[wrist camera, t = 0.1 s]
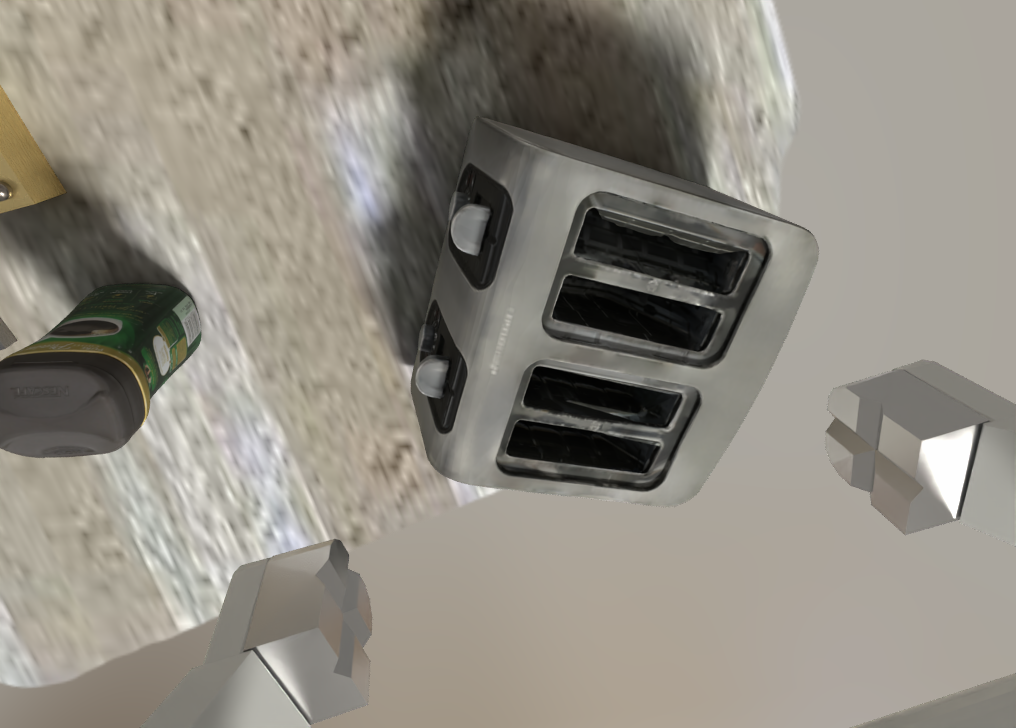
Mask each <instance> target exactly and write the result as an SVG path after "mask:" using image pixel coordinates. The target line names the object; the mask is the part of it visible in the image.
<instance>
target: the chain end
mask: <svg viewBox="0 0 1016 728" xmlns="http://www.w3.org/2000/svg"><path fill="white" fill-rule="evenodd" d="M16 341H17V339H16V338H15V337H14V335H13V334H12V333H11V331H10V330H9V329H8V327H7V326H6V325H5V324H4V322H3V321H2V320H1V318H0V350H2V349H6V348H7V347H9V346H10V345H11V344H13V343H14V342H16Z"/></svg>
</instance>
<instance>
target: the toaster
mask: <svg viewBox="0 0 1016 728" xmlns="http://www.w3.org/2000/svg"><path fill="white" fill-rule="evenodd" d="M448 218H449V220H448V224H447V229H446V233H445V237H444V241H443V245H442V250H441V254H440V258H439V263H438V267H437V271H436V275H435V279H434V284H433V287H432V294H431V298H430V302H429V306H428V310H427V314H426V319H425V323H424V324H423V325H422V327H421V330H420V334H419V340H418V341H419V342H418V352H417V356H416V360H415V364H414V368H413V373H412V379H411V394H412V398H413V402H414V406H415V410H416V414H417V417H418V421H419V425H420V429H421V433H422V437H423V442H424V446H425V450H426V454H427V457H428V460H429V462H430V463H431V465H432V466H433V467H434V468H435V469H436V470H437V471H438V472H439V473H440V474H442V475H443V476H445V477H448V478H450V479H452V480H455V481H457V482H461V483H464V484H469V485H475V486H482V487H489V488H496V489H506V490H515V491H524V492H534V493H543V494H552V495H561V496H571V497H580V498H589V499H598V500H606V501H616V502H625V503H632V504H640V505H650V506H659V507H675V506H678V505H680V504H683V503H685V502H687V501H688V500H690V499H691V498H693V497H694V496H695V495H696V494H697V493H698V492H699V491H700V489H701V488H702V486H703V485H704V483H705V482H706V480H707V479H708V477H709V476H710V474H711V473H712V471H713V469H714V468H715V466H716V465H717V463H718V462H719V460H720V459H721V457H722V456H723V454H724V452H725V451H726V449H727V448H728V446H729V445H730V443H731V441H732V440H733V438H734V436H735V435H736V433H737V431H738V430H739V428H740V426H741V424H742V423H743V421H744V419H745V417H746V416H747V414H748V412H749V410H750V408H751V407H752V405H753V403H754V401H755V400H756V398H757V396H758V394H759V392H760V391H761V389H762V387H763V385H764V383H765V381H766V379H767V377H768V375H769V372H770V371H771V369H772V366H773V364H774V362H775V360H776V358H777V356H778V354H779V352H780V350H781V348H782V346H783V343H784V341H785V339H786V337H787V335H788V332H789V330H790V328H791V325H792V323H793V321H794V318H795V316H796V314H797V311H798V309H799V306H800V304H801V302H802V299H803V297H804V295H805V292H806V290H807V288H808V285H809V283H810V280H811V278H812V275H813V273H814V270H815V267H816V265H817V261H818V255H819V248H818V244H817V241H816V239H815V237H814V236H813V234H812V233H811V232H810V231H809V230H807V229H805V228H803V227H801V226H799V225H797V224H794V223H792V222H789V221H787V220H785V219H782V218H780V217H778V216H775V215H773V214H770V213H768V212H766V211H763V210H761V209H759V208H756V207H754V206H751V205H749V204H747V203H744V202H742V201H740V200H737V199H735V198H732V197H730V196H728V195H725V194H723V193H720V192H718V191H716V190H713V189H711V188H709V187H707V186H704V185H700V184H697V183H694V182H691V181H688V180H685V179H681V178H678V177H675V176H672V175H669V174H666V173H662V172H659V171H657V170H654V169H651V168H647V167H644V166H641V165H638V164H634V163H631V162H628V161H625V160H622V159H619V158H615V157H612V156H609V155H606V154H603V153H599V152H596V151H593V150H590V149H587V148H583V147H580V146H577V145H574V144H570V143H567V142H564V141H561V140H557V139H554V138H552V137H547V136H544V135H540V134H537V133H534V132H531V131H527V130H524V129H521V128H518V127H514V126H511V125H508V124H504V123H501V122H498V121H494V120H491V119H487V118H485V117H479V116H477V117H476V118H475V119H474V121H473V123H472V126H471V129H470V132H469V136H468V140H467V144H466V148H465V152H464V157H463V161H462V165H461V171H460V174H459V176H458V182H457V186H456V190H455V192H454V193H453V196H452V198H451V202H450V207H449V214H448Z"/></svg>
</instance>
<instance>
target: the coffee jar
mask: <svg viewBox="0 0 1016 728" xmlns="http://www.w3.org/2000/svg"><path fill="white" fill-rule="evenodd" d="M200 341H201V324H200V319H199V315H198V312H197V309H196V307H195V305H194V303H193V301H192V300H191V298H190V297H189V296H188V295H187V294H186V293H184V292H183V291H181V290H179V289H178V288H175V287H172V286H167V285H159V284H118V285H109V286H104V287H100V288H98V289H96V290H94V291H93V292H92V293H90V294H89V295H88V296H87V297H86V298H85V299H83V300H82V301H81V302H80V303H79V304H78V305H77V306H76V307H75V309H74V310H73V311H72V312H71V313H70V314H69V315H68V316H67V317H66V318H64V319H63V320H62V321H61V322H60V323H59V324H58V325H57V326H56V327H54V328H53V329H52V330H51V331H50V332H49V333H48V334H46V335H45V336H44V337H42V338H41V339H40V340H38V341H37V342H35V343H33V344H31V345H29V346H27V347H25V348H23V349H21V350H20V351H17V352H15V353H13V354H11V355H10V356H8V357H6V358H4V359H3V360H2V361H0V448H1V449H4V450H6V451H8V452H11V453H14V454H18V455H22V456H27V457H36V458H45V457H75V456H87V455H96V454H105V453H110V452H113V451H116V450H118V449H119V448H121V447H122V446H123V445H125V444H126V443H127V442H128V441H129V440H130V438H131V437H132V435H133V434H134V433H135V432H136V431H137V430H138V429H139V428H140V427H141V426H142V425H143V423H144V422H145V420H146V418H147V416H148V413H149V408H150V399H151V398H152V396H153V395H154V394H155V393H156V392H157V390H158V389H159V388H160V387H161V386H162V385H163V384H164V383H165V382H166V381H167V379H168V378H169V377H170V376H171V375H172V374H173V373H174V372H175V371H176V370H177V369H178V368H179V367H180V366H181V365H182V364H183V363H184V362H185V361H186V360H187V359H188V358H189V357H190V356H191V355H192V354H193V352H194V351H195V350H196V349H197V347H198V346H199V344H200Z"/></svg>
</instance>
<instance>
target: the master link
mask: <svg viewBox="0 0 1016 728" xmlns="http://www.w3.org/2000/svg"><path fill="white" fill-rule="evenodd" d="M64 193H67V192H66V191H65V189H64V188H63V186H62V184H61V183H60V181H59V179H58V178H57V176H56V175H55V173H54V171H53V170H52V168H51V166H50V165H49V163H48V162H47V160H46V158H45V157H44V155H43V153H42V152H41V150H40V149H39V147H38V145H37V144H36V142H35V140H34V139H33V137H32V136H31V134H30V132H29V131H28V129H27V127H26V126H25V124H24V123H23V121H22V119H21V118H20V116H19V114H18V113H17V111H16V110H15V108H14V106H13V105H12V103H11V101H10V100H9V98H8V97H7V95H6V93H5V92H4V90H3V88H2V87H1V85H0V213H4V212H7V211H11V210H15V209H19V208H22V207H26V206H30V205H34V204H37V203H39V202H42V201H45V200H48V199H51V198H53V197H56V196H59V195H62V194H64Z"/></svg>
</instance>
